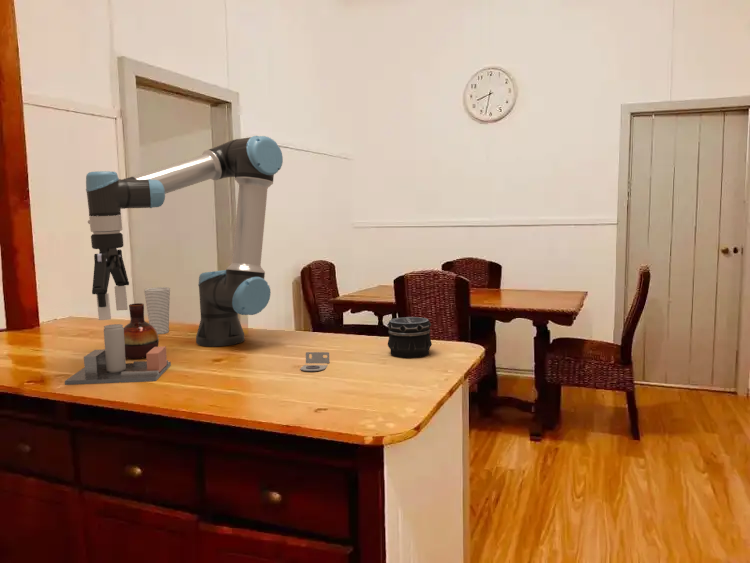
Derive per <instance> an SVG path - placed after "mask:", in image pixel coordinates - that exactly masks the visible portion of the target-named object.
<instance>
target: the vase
mask: <svg viewBox="0 0 750 563" xmlns="http://www.w3.org/2000/svg"><path fill="white" fill-rule="evenodd" d="M128 310H129V316H130V321H129V323H127V324H125V326H123V328H124V341H125V359H129V360H141V359H147V358H146V354H147V353H148V352H149V351H150V350H151V349H153V348H154V347H159V342H160V341H159V339H160V338H159V334H158V333H157V331H156V329H155V328H154V327H153V326H152V325H151V324H149V322H147V321H145V304H144V303H141V302H139V303H130V304H129V305H128Z"/></svg>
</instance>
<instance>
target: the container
mask: <svg viewBox="0 0 750 563" xmlns="http://www.w3.org/2000/svg"><path fill="white" fill-rule="evenodd" d="M431 326H432V323H431V322H430V320H429V319H428V318H425V317H419V316H418V317H416V316H406V317H405V316H404V317H396V318H395V317H394V318H391V319H390V320H389V322H388V323H387V325H386V327H387V329H388V331H387V332H388V335H389V336H388V342H387V347H388V349H389V350H390V355H391V357H392V356H393V357H396V358H405V359H414V358H415V359H416V358H422V357H425V356H428V355H430V349H431V346H432V340H431V335H430V334H431Z"/></svg>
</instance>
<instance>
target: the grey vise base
mask: <svg viewBox="0 0 750 563" xmlns="http://www.w3.org/2000/svg"><path fill="white" fill-rule="evenodd" d="M171 363H172V362H171V361H169V360H167V365H166V366H165V367H164V368H163V369H162V370H161V371H160V372H158V370H148V371H147V360H143V361H137V360H136V361H133V362H132V363H131V362H129V363H128V362H127V363H126V369H125V370H124V371H122V372H118V373H109V372H108V371H107V370H106V356H105V348H104V349H94V350H92V351H91V352H89V353H88V354H85V356H83V364H84V367H83V368H82V369H80V370H78V371H77V372H76V373H74V374H73V375H71V376H70V377H68V378H66V379H65V380H64V386H65V385H66V386H69V385H91V384H92V385H93V384H114V383H115V384H116V383H118V384H119V382H121V383H142V382H144V383H145V382H157V380H159V378H161V376H162V375H163V374H164V373H165V372H166V371H167V370H168V368H170V367H171V366H172V364H171Z"/></svg>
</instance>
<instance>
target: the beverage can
mask: <svg viewBox="0 0 750 563" xmlns="http://www.w3.org/2000/svg"><path fill="white" fill-rule="evenodd" d="M103 338H104V339H103V340H104V341H103V342H104V349H105V356H106V370H107V371H108V372H109V373H118V372H122V371H124V370H125V369H126V361H127V360H126V357H125V341H124V324H120V323H119V324H117V323H116V324H115V323H114V324H108V325H104V326H103Z"/></svg>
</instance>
